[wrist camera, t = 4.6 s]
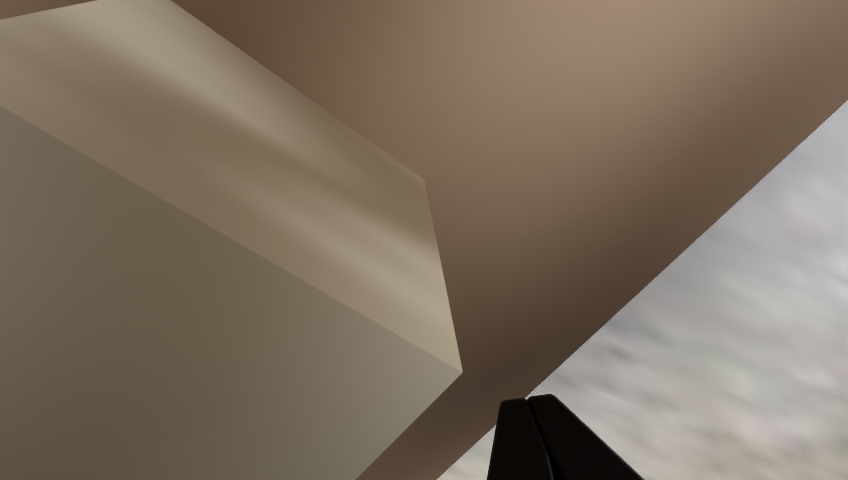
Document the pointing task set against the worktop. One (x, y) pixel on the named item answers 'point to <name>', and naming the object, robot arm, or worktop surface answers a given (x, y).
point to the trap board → (548, 150)
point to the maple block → (200, 262)
